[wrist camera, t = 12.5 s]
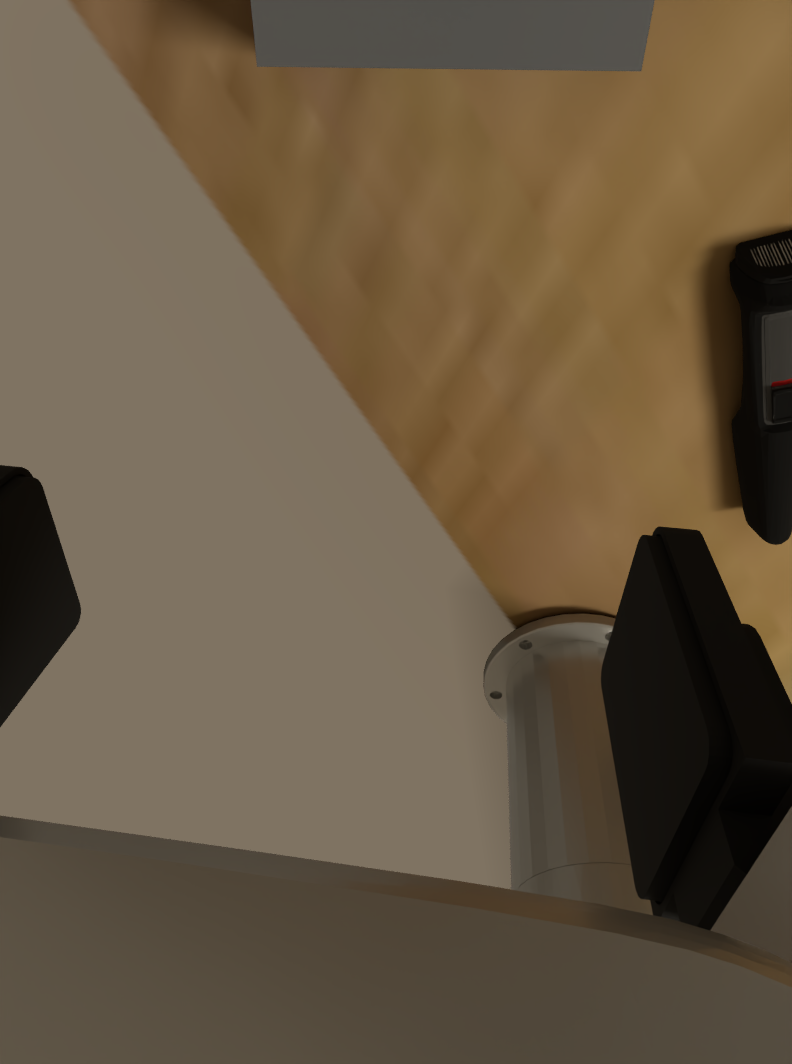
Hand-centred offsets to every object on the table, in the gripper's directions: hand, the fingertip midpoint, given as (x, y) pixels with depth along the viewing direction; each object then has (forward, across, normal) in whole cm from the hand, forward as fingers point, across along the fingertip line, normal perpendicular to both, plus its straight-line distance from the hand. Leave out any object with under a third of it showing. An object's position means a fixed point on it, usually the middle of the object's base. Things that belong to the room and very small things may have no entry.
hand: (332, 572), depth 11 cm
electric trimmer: (+26, -17, +6) cm, 31 cm away
